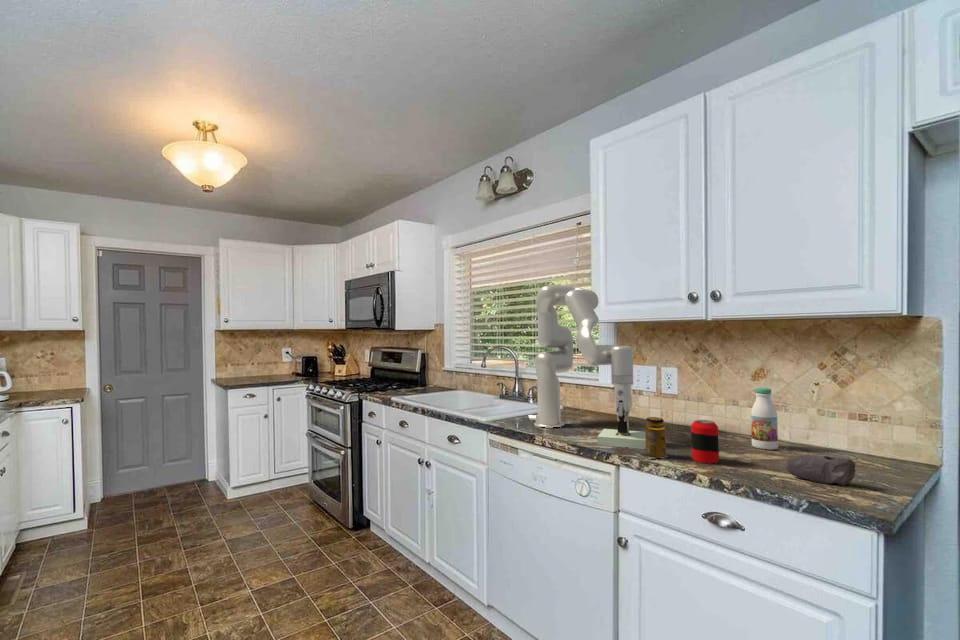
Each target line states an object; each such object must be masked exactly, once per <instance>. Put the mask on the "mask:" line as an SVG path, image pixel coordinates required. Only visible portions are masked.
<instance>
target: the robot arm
mask: <svg viewBox="0 0 960 640" xmlns="http://www.w3.org/2000/svg"><path fill="white" fill-rule="evenodd" d="M599 303H600V302H599V297H598V295H597V293H596V292H595V291H593V290H592V289H586V288H581V287H577V286H572V285H562V284H561V285H560V284H549V285H548V284H547V285H544V286H543V287H541V288H540V289H539V290H538V291H537V294H536V297H535V307H536V312H537V340H538V341H537V342H538V344H539V346H540V347H541V348H544V349H555V350H549V351H548V350H546V351H541V352H539V353H537V355H536V356H535V357H534V367H535V372H536V373H535V374H536V379H537V380H536V385H537V387H536V389H537V414H529V415H528V419H529V420H530V421H535V422H534V423H533V424H534V426H535V427H537V428H541V427H545V428H544V429H554V428H553V427H560V428H563V427H564V426H565V422H564V421H561V385H560V384H561V383H560V380H559V378H558V375H557V374H561V373H567V372H569V371H570V370H571V369H572V367H573V363H574V337H573V333H572V331H571V329H570V328H568V327H567V326H564V325H559V322H558V321H559V317H558V313H557V310H556V309H555V307H554V306H565V307H566V306H567V309H568V310H569V313H570V314H571V316H572V318H573V320H574V322H575V324H576V326H577V328H578V330H577V335H576V337H577V338H576V339H577V340H576V341H577V346H578V349H579V351H580V353H581V355H582V358H583V359H584V360H585V361H586V362H587V363H588V364H589V365H591V366H594V367H595V366H611V367H610V369H611V370H610V371H611V385H612V386H613V385H614V410H615V413H617V422H616V423H617V430H618V432H619V433H627V421H626V412H628V413H629V414H630V413H631V412H632V411H633V402H632V399H633V398H632V385H634V358H633V357H634V351H633V348H632V346H629V345H614V344H597V343H596V342H595V340H594V339H593V337H592V333H591V332H592V331H591V330H593V328H595V327H596V326H597V325H598V323H599V321H600V320H599V319H600V318H599V317H598V315H597V313H596V311H595V310H596V309H597V307H598V305H599ZM623 411H625V413H623ZM623 414H624V415H623ZM562 426H563V427H562Z"/></svg>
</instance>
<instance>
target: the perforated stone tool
mask: <svg viewBox="0 0 960 640" xmlns="http://www.w3.org/2000/svg"><path fill="white" fill-rule="evenodd" d="M785 469H786V471H787V472H788V473H789V474H790V475H791V476H793V477H796V478H799V479H801V480H808V479H809V480H808V481H811V482H816V483H821V484H837V485H839V486H845V485H846V484H847V485H848V484H850V483H851V482H852V481H853V479H854V478H855V475H856V471H857V470H856V462H854V461H853V460H852V459H850V458H845V457H844V458H843V457H838V456H836V457H835V456H829V455H828V456H827V455H816V454H815V455H814V454H812V455H806V454H805V455H797V456H793V457H790V458H789V459H787V460H786V462H785Z"/></svg>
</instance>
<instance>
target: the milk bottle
mask: <svg viewBox="0 0 960 640" xmlns="http://www.w3.org/2000/svg"><path fill="white" fill-rule="evenodd" d="M755 396H756V398H755V401H754V403H753V405H752V407H751V411H750V412H751V413H750V424H751V427H750V428H751V430H750V431H751V432H750V433H751V445H752V446H751V447H753V448H756V449H758V450H759V449H760V450H766V449H767V450H768V451H770V450H771V451H773V450H774V449H775V450H777V449H778V448H779V431H778V430H779V429H778V428H779V427H778V425H779V424H778V413H777V409H776V407H775V405H774V403H773V401H772V399H771V398H772V397H771V396H772V389H771V388H767V387H756V388H755ZM767 450H766V451H767Z"/></svg>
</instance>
